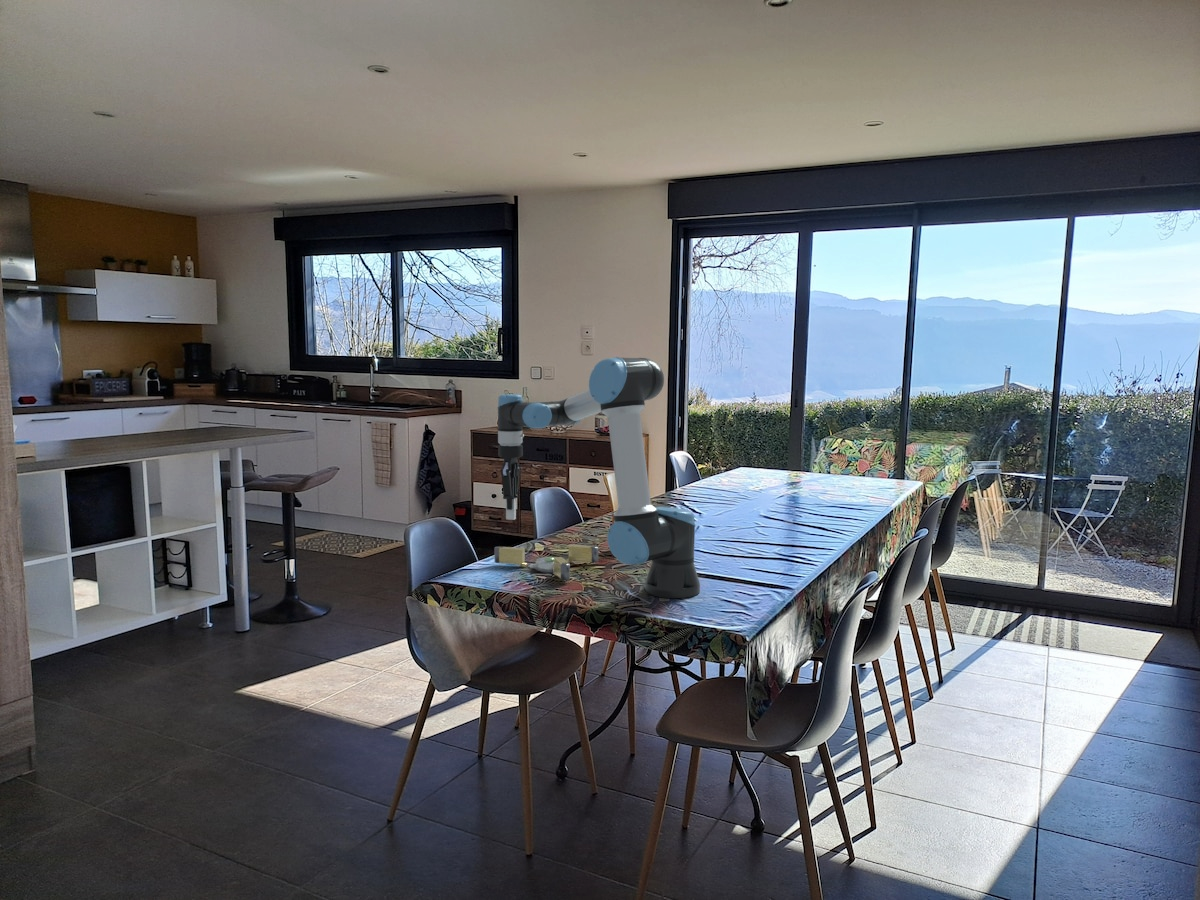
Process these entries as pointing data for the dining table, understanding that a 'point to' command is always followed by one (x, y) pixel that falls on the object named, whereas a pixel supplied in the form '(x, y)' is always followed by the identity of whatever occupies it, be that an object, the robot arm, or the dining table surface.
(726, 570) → the dining table surface
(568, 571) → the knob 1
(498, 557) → the yellow and grey block
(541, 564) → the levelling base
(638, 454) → the robot arm
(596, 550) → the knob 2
